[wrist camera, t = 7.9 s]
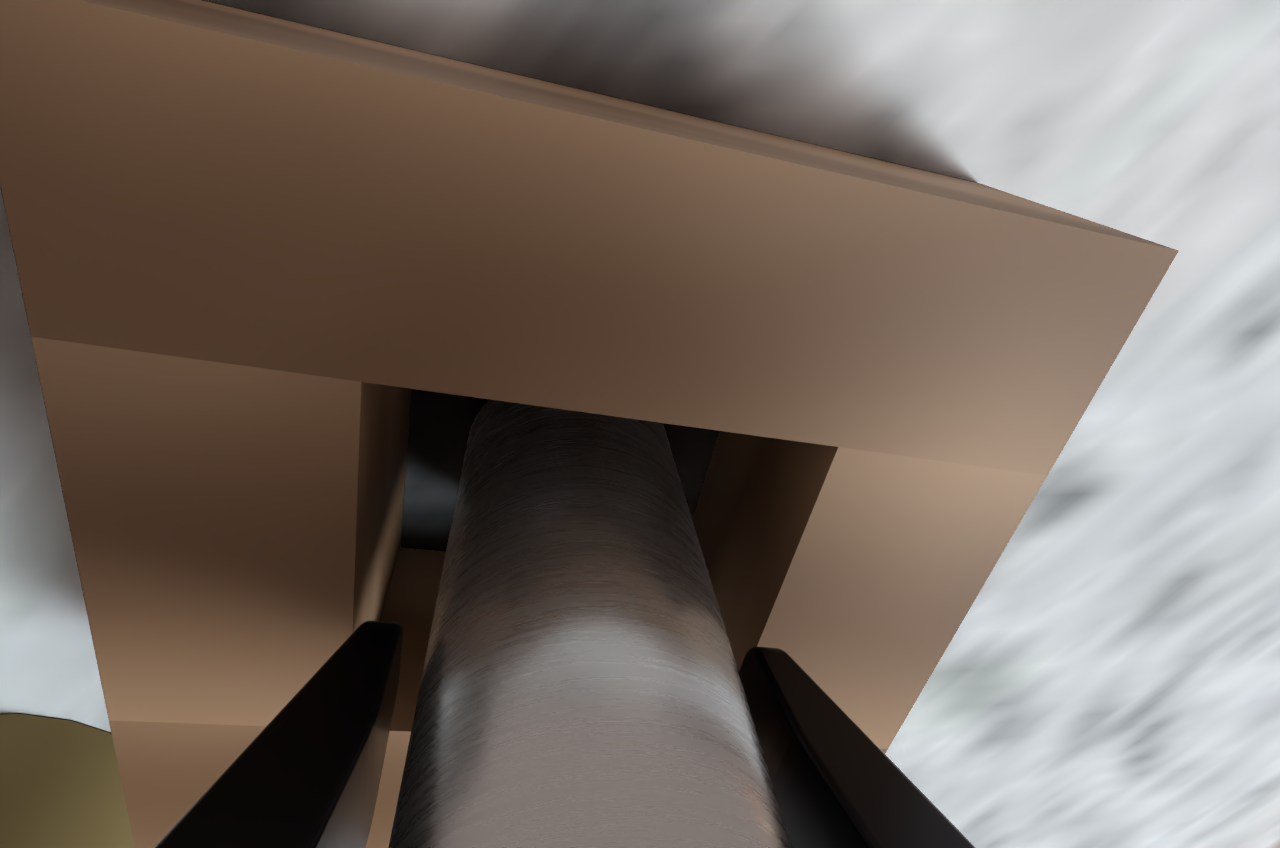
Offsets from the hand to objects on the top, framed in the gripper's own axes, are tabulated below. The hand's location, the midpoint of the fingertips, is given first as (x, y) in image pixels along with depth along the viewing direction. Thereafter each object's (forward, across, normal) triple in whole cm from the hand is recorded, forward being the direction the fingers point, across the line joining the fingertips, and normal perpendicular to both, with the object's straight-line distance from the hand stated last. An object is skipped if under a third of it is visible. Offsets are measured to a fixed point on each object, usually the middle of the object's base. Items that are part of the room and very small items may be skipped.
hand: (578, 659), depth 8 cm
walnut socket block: (+5, 0, 0) cm, 5 cm away
